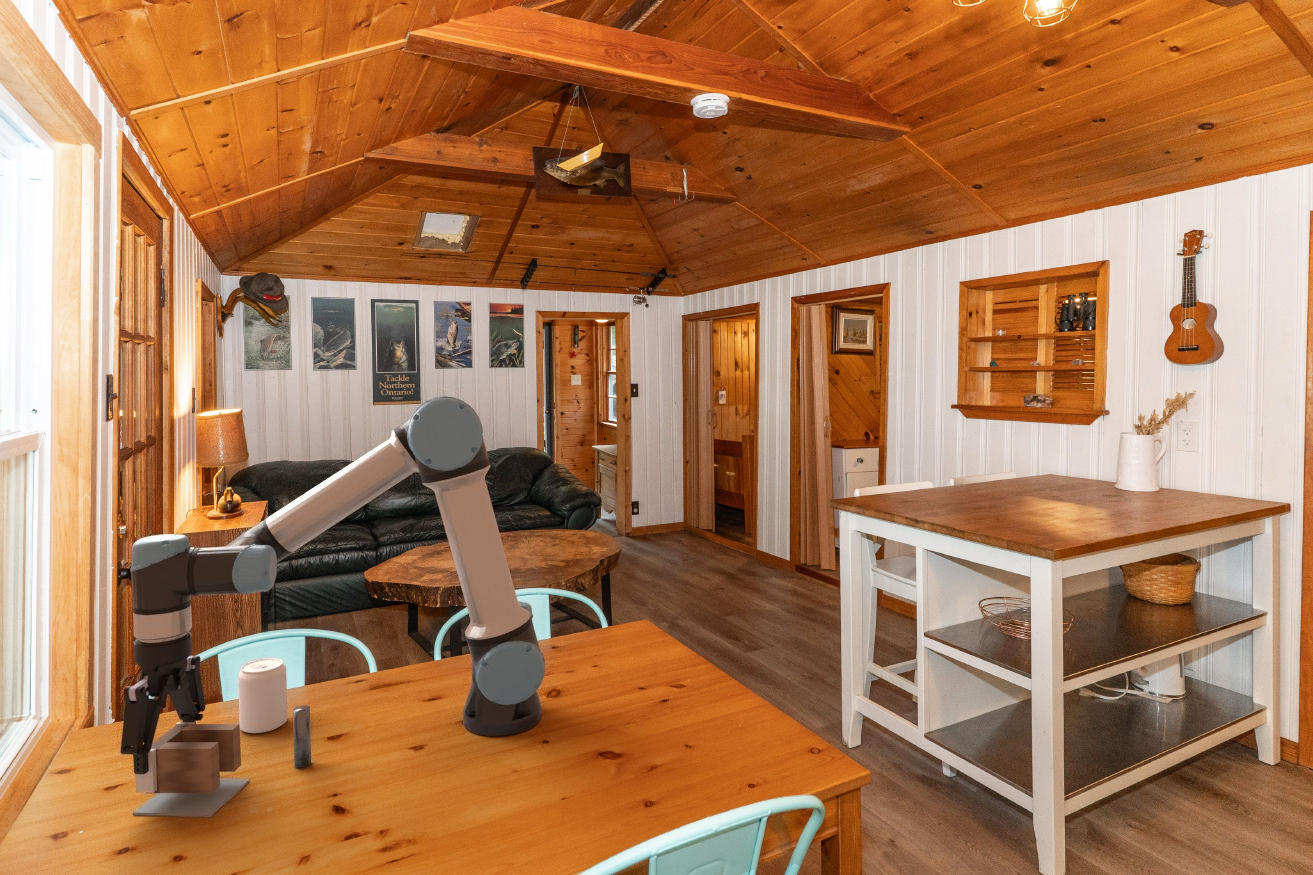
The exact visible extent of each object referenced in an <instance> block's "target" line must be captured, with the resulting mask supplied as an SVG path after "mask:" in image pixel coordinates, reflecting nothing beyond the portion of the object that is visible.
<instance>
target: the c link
mask: <svg viewBox="0 0 1313 875" xmlns="http://www.w3.org/2000/svg"><path fill="white" fill-rule="evenodd" d="M241 747H242V746H241V729H240V723H218V724H217V723H215V724H214V723H198V724H197V723H196V724H177V725H176V724H175V725H174V726H173V727H172V728H170V729H169V730H168V731H167V732H165V733H163V735H161V736H159V737H157V739H156V740H153V743H152V747H151V749H156V772H157V791H155V792H154V793H153V794H158V793H213V792H214V791H215V790H216V789H217V788H218V787H219V786H220V778H221V776H220V775H221V773H222V772H223V773H225V772H226V773H233V772H234V773H235V772H236V771H237V770H238V769H239V768H240V767H241V766H242V750H241V749H242V748H241Z"/></svg>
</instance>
